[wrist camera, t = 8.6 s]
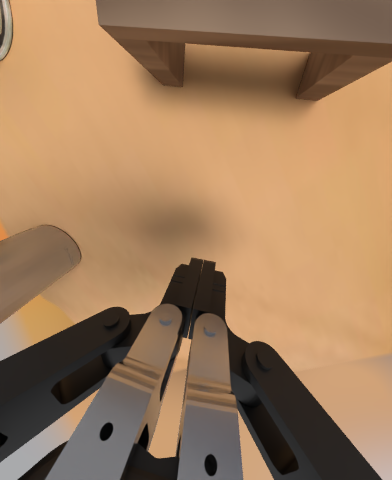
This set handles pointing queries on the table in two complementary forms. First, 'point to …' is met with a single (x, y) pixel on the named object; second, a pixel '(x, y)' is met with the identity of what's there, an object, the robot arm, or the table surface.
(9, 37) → the coffee can
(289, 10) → the bridge
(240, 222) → the table surface
